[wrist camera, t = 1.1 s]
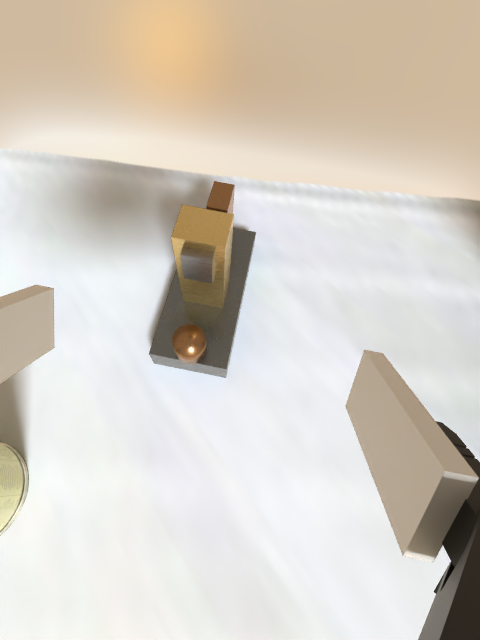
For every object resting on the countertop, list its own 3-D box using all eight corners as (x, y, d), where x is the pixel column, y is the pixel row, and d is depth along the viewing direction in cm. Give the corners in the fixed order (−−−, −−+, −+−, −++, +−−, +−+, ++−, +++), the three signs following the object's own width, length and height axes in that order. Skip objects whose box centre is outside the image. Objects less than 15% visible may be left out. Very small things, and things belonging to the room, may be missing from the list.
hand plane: (253, 247, 49) (263, 187, 39) (225, 380, 41) (228, 347, 30) (193, 236, 50) (187, 172, 39) (153, 365, 41) (132, 327, 31)
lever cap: (229, 280, 43) (233, 214, 32) (221, 315, 41) (223, 256, 30) (191, 273, 43) (182, 204, 32) (181, 307, 41) (168, 245, 30)
